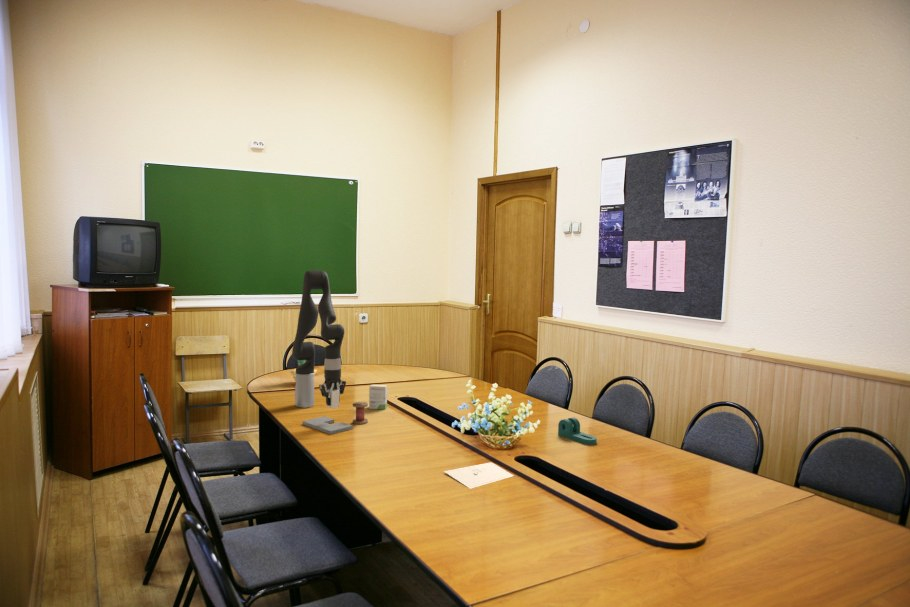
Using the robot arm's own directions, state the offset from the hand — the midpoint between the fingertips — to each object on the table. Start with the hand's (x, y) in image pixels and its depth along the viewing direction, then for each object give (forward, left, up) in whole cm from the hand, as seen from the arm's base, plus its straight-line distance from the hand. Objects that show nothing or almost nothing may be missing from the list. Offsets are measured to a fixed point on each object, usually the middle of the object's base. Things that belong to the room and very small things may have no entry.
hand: (332, 404), depth 276 cm
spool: (+5, +12, -10) cm, 16 cm away
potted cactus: (-84, +40, -10) cm, 94 cm away
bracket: (+92, +64, -10) cm, 112 cm away
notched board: (0, -3, -10) cm, 10 cm away
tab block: (0, 0, -1) cm, 1 cm away
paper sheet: (+94, -1, -11) cm, 94 cm away
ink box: (-9, +35, -10) cm, 38 cm away
